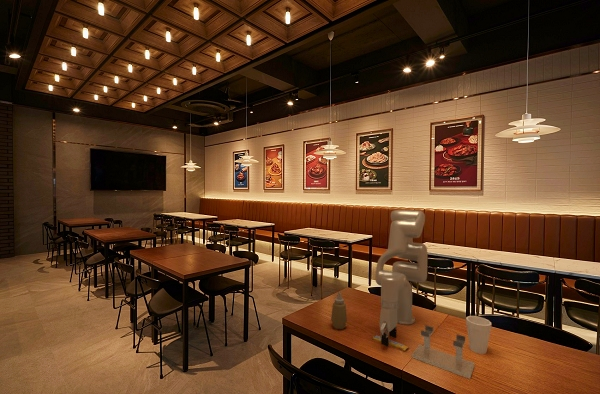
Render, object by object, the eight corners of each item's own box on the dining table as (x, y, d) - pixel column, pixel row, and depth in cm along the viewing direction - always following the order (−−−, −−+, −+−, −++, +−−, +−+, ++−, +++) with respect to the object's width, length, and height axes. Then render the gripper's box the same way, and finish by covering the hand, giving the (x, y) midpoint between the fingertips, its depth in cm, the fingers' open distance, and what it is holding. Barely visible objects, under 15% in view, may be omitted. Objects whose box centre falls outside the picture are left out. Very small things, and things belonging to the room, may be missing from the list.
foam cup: (482, 358, 116) (483, 327, 116) (461, 347, 124) (461, 318, 124) (495, 352, 121) (495, 322, 120) (473, 342, 129) (474, 314, 129)
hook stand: (419, 347, 124) (419, 321, 124) (474, 366, 111) (474, 337, 110) (412, 357, 116) (412, 330, 116) (470, 379, 103) (470, 348, 103)
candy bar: (370, 339, 131) (370, 335, 131) (374, 336, 134) (374, 332, 134) (405, 353, 120) (405, 349, 120) (409, 349, 123) (409, 345, 123)
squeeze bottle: (348, 325, 144) (349, 290, 144) (344, 332, 137) (344, 296, 137) (333, 322, 148) (334, 288, 148) (328, 328, 140) (329, 293, 140)
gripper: (388, 296, 135) (388, 331, 136) (373, 307, 122) (373, 345, 122) (404, 300, 131) (403, 336, 131) (390, 311, 117) (389, 352, 117)
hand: (388, 340), depth 126 cm, fingers open, 9 cm apart
